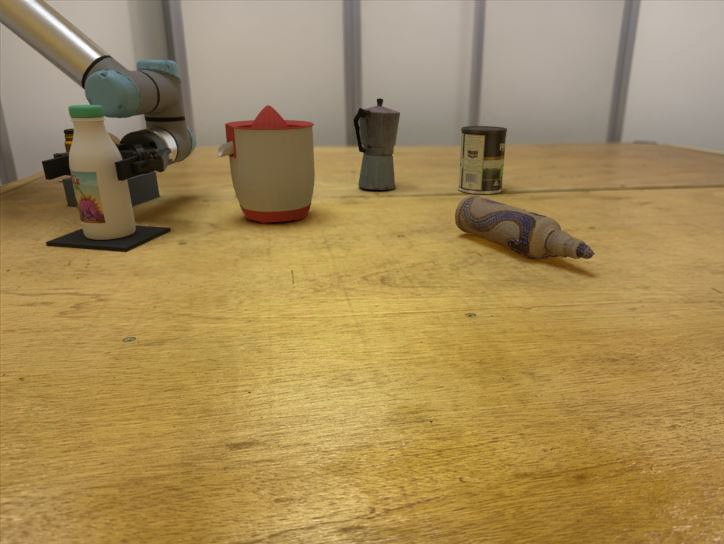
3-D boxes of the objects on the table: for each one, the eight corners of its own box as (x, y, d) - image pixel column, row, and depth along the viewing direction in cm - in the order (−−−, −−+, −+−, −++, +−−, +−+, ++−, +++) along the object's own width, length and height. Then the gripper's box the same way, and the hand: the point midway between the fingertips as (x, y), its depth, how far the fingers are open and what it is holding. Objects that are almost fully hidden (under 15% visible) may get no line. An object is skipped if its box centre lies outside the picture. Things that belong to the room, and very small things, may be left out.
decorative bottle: (450, 235, 94) (452, 196, 91) (483, 229, 98) (486, 192, 95) (569, 280, 74) (575, 232, 72) (604, 271, 78) (612, 225, 76)
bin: (67, 205, 111) (61, 179, 108) (109, 193, 122) (104, 169, 120) (122, 209, 108) (117, 182, 106) (159, 196, 120) (155, 171, 118)
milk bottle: (129, 225, 95) (106, 103, 87) (142, 235, 90) (119, 105, 82) (79, 233, 91) (50, 104, 83) (90, 244, 85) (61, 107, 77)
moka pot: (410, 185, 134) (411, 97, 126) (376, 196, 122) (375, 100, 114) (377, 181, 138) (376, 96, 131) (341, 191, 126) (338, 99, 118)
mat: (46, 245, 86) (45, 241, 86) (98, 225, 97) (98, 222, 97) (126, 251, 84) (125, 247, 84) (171, 230, 95) (170, 227, 94)
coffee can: (501, 186, 133) (506, 126, 128) (502, 195, 124) (507, 130, 119) (459, 185, 135) (462, 125, 129) (456, 193, 126) (459, 129, 120)
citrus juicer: (217, 212, 107) (204, 103, 99) (303, 204, 114) (297, 102, 107) (234, 232, 94) (221, 109, 86) (330, 221, 101) (325, 107, 94)
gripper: (211, 171, 104) (162, 197, 83) (91, 170, 104) (13, 194, 84) (206, 130, 101) (154, 146, 80) (83, 128, 101) (0, 144, 81)
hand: (82, 171), depth 82 cm, fingers open, 10 cm apart
